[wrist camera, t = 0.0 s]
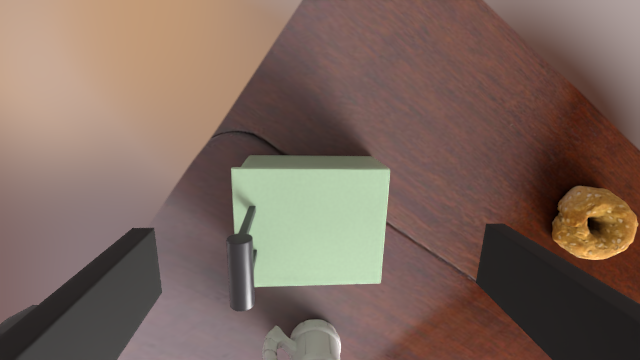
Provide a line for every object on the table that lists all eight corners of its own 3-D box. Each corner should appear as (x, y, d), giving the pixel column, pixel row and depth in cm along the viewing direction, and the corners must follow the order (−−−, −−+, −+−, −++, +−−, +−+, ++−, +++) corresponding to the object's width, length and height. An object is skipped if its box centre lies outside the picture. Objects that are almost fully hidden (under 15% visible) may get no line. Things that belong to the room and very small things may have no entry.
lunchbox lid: (238, 283, 35) (218, 351, 26) (232, 166, 32) (206, 196, 22) (378, 279, 36) (409, 342, 27) (388, 167, 33) (426, 195, 24)
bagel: (598, 168, 43) (635, 177, 38) (619, 229, 46) (655, 243, 41) (535, 205, 44) (563, 218, 39) (559, 262, 46) (588, 280, 42)
